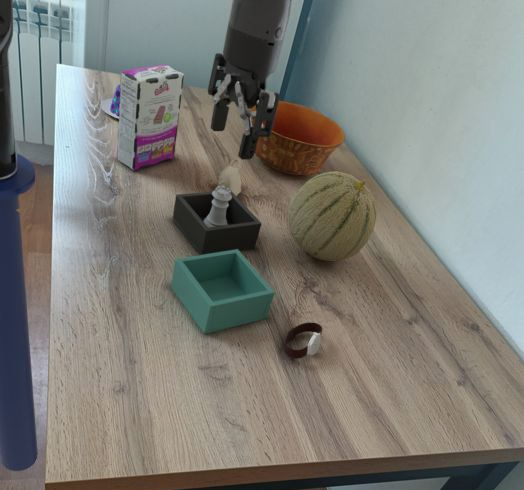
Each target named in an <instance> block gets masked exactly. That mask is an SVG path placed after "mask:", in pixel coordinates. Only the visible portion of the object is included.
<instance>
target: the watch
mask: <svg viewBox="0 0 524 490" xmlns="http://www.w3.org/2000/svg"><path fill="white" fill-rule="evenodd" d="M309 332H310V333H313V334H312V336H311V337H310V340H309V341H308V343H307V345H306V346H305V347H303V348H301V349H293V348H291V347H289V346H288V344H289V343H290V342H291V341H292V340H293V339H295V338H296V337H297V336H299V335H300V334H302V333H309ZM322 333H323V326H322V325H321V324H319V323H317V322H303V323H301V324H298V325H297V326H295V327H292V328H291V329H290V330H289V331H288V333H287V334H286V336H285V338H284V349H283V350H284V354H285V355H286V357H288V358H290V359H295V360H298V359H302V358H304V357H306V356H308V355H309V356H314V355H315V354H316V353H317V351H318V350H319V348H320V345H321V340H322Z"/></svg>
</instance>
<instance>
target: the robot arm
mask: <svg viewBox="0 0 524 490" xmlns="http://www.w3.org/2000/svg"><path fill="white" fill-rule="evenodd" d="M13 2H14V1H13V0H0V182H1V181H5V180H8V179H10V178H12V177H14V176H15V175H16V173H17V171H18V168H17V154H18V149H17V146H16V138H15V125H14V111H13V99H12V84H11V83H12V82H11V73H10V56H9V51H10V48H11V44H12V42H13V36H14V6H13V5H14V3H13ZM292 3H293V0H232V3H231V7H230V12H229V18H228V23H227V27H226V34H225V38H224V45H223V50H222V53H221V52H219V53H218V52H217V53H215V54H214V59H213V64H212V68H211V72H210V76H209V77H210V78H209V82H208V86H207V94H208V95H209V96H212V104H213V105H214V106H213V110H212V114H211V115H212V116H211V123H210V129H211V130H212V131H213V132H223V131H225V129H226V126H227V125H226V124H227V120H228V115H229V110H230V107H229V105H231V104H232V103H234V104H235V106H237V108H238V111H239V117H240V118H241V119H242V120H243V129H244V132H243V133H242V137H241V142H240V144H239V145H240V146H239V150H238V154H237V155H238V158H239V159H240V160H241V161H242V160H251V159H253V158H254V156H255V155H256V154H255V150H256V147H257V143H258V139H259V137H270V136H271V133H272V128H273V124H274V120H275V116H276V111H277V107H278V103H279V101H280V94H279V92H273V91H270V90H268V85H267V83H268V78H269V76H270V75H271V74H273V73H274V72H275V71H276V70H277V67H278V62H279V58H280V55H281V52H282V47H283V43H284V39H285V36H286V32H287V28H288V24H289V20H290V16H291V9H292ZM218 81H220V83H219V85H218V86H217V83H218ZM255 105H256V111H249V109H251V108H253V107H254V106H255ZM251 118H254V120H255V121H254V126H252V123H251ZM263 121H266V123H265V128H264V127H263Z"/></svg>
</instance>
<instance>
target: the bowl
mask: <svg viewBox="0 0 524 490" xmlns="http://www.w3.org/2000/svg"><path fill="white" fill-rule="evenodd" d="M248 110H249V111H256V105H255V106H254V107H253V108H251V109H248ZM254 121H255V120H254V118H251V125H252V126H254ZM265 123H266V121H263V127H264V128H265ZM345 140H346V135H345V132H344V130H343V129H342V127H341V126H340V125H339V124H338V123H337V122H336V121H334V120H332V119H330V118H329V117H327V116H326V115H324V114H322V113H320V112H317V111H316V110H314V109H311V108H308V107H305V106H302V105H299V104H296V103H293V102H292V103H291V102H286V101H283V100H279V103H278V107H277V111H276V116H275V120H274V124H273V128H272V133H271V136H270V137H259V139H258V143H257V147H256V150H255V154H254V155H255V156H256V157H257V158H258V159H259V160H260V161H261V162H263V163H264V164H265V165H267V166H269V167H271V168H273V169H274V170H277V171H279V172H282V173H285V174H289V175H295V176H311V175H314V174H316V173H319V171H321V170H322V169H323V167H324V166H325V164H326V162H327V161H328V159H329V158H330V156H331V155H332V153H334V152H335V151H336V150H337V149H338V148H339V147H340V146H341V145H342V144H344V142H345Z"/></svg>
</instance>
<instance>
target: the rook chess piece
mask: <svg viewBox="0 0 524 490" xmlns="http://www.w3.org/2000/svg"><path fill="white" fill-rule="evenodd" d="M229 190H230V189H229V188H227V189H226V190H225V186H222V188H220V186H218V185H217V186H216V187H215V189H214V190H212V191H213V192H212V195H213V197H214V199H213V200H212V204H213V205H212V208H211V211H210V213H209V215H208V216H207V217H206V218H205V219H204V221H203V222H204V223H205V224H206V226H207V227H208V228H209V227H216V226H224V225H228V224H227V220H226V209H227V207H228V206H229V204H228V201H229V200H231V199H232V196H231V194H230V193H231V191H229Z"/></svg>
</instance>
